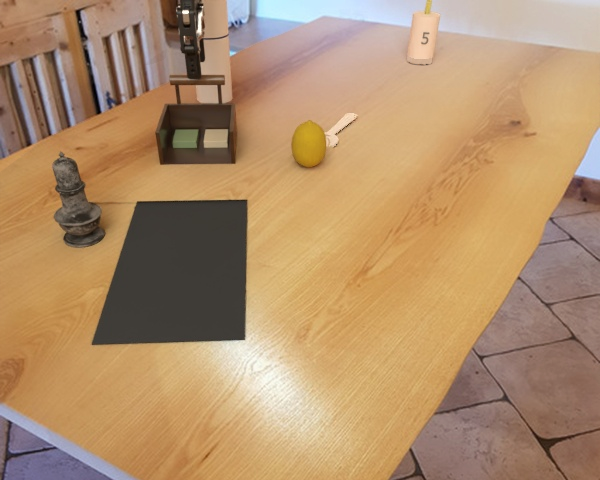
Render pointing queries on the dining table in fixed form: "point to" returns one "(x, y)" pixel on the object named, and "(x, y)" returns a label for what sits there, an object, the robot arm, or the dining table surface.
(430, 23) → the candle
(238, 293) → the mat
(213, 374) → the dining table surface
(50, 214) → the dining table surface
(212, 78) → the basket
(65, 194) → the salt shaker
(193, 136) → the block
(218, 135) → the block
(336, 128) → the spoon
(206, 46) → the cylindrical container
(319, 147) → the lemon
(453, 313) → the dining table surface
